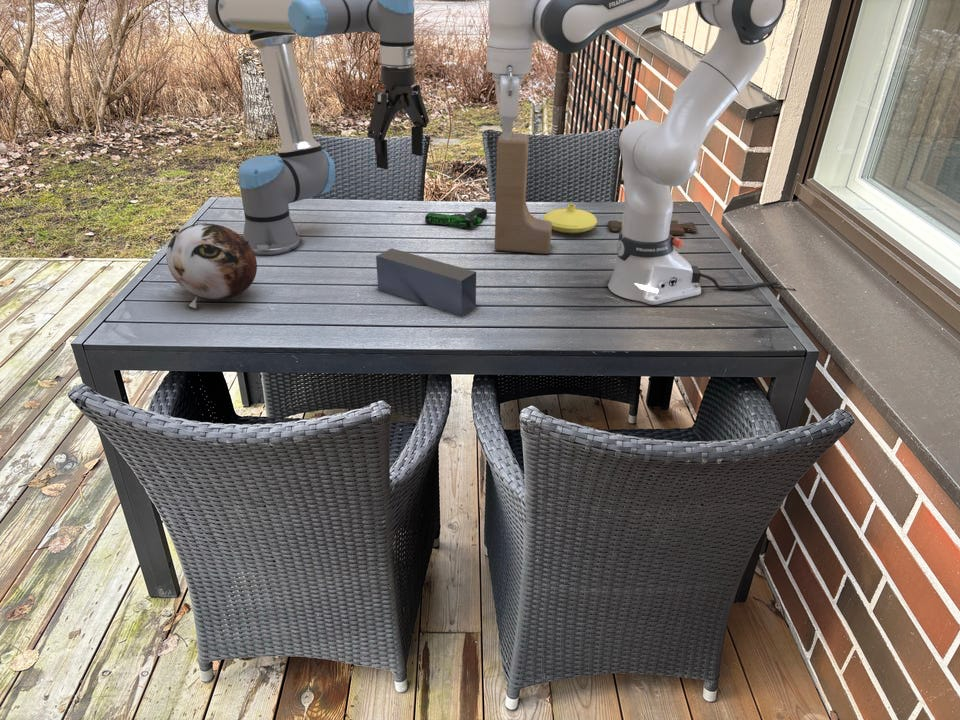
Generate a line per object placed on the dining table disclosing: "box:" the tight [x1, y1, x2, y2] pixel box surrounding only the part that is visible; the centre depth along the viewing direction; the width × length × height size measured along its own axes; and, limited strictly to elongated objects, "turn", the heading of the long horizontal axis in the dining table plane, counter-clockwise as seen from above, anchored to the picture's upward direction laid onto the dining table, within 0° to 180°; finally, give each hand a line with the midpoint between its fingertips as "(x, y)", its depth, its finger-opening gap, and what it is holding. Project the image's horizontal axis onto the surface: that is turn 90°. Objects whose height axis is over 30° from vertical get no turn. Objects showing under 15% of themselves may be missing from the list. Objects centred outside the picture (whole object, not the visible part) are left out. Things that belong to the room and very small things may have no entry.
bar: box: [375, 247, 477, 317], centre depth 167 cm, size 25×6×9 cm, turn 57°
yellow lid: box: [543, 203, 598, 234], centre depth 209 cm, size 16×16×7 cm
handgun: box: [424, 207, 488, 230], centre depth 215 cm, size 16×3×15 cm
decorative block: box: [494, 133, 553, 255], centre depth 190 cm, size 8×15×30 cm, turn 82°
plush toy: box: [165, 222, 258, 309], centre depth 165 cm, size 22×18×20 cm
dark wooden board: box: [607, 219, 697, 235], centre depth 211 cm, size 26×2×10 cm
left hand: (400, 161), depth 169 cm, fingers open, 13 cm apart
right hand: (505, 134), depth 148 cm, fingers open, 8 cm apart
